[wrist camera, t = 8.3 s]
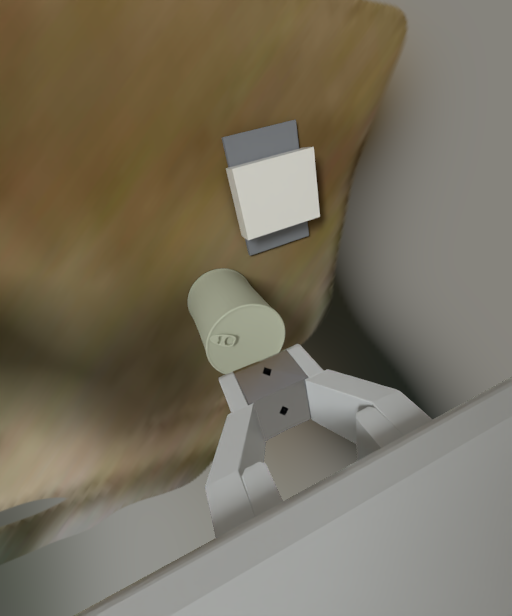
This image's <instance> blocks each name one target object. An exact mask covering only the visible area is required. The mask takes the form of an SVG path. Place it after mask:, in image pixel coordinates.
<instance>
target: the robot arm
mask: <svg viewBox="0 0 512 616" xmlns="http://www.w3.org/2000/svg"><path fill="white" fill-rule="evenodd" d="M218 378H219V382H220V385H221V387H222V390H223V393H224V395H225V398H226V400H227V403H228V406H229V408H230V411H231V413H230V414H228V415H227V418H226V421H225V424H224V428H223V431H222V434H221V437H220V440H219V444H218V447H217V450H216V453H215V456H214V460H213V463H212V466H211V469H210V472H209V476H208V479H207V482H206V485H205V490H206V494H207V499H208V504H209V509H210V513H211V518H212V523H213V527H214V532H215V536H216V538H215V539H214V540H212V541H210V542H208V543H206V544H204V545H203V546H201V547H199V548H197V549H195V550H194V551H192V552H190V553H188V554H186V555H184V556H182V557H180V558H179V559H177V560H175V561H173V562H171V563H170V564H168V565H166V566H164V567H162V568H160V569H159V570H157V571H155V572H153V573H151V574H150V575H147V576H146V577H144V578H142V579H140V580H138V581H137V582H135V583H133V584H131V585H129V586H127V587H126V588H124V589H122V590H120V591H119V592H116V593H115V594H113V595H111V596H109V597H107V598H105V599H103V600H102V601H100V602H98V603H96V604H94V605H92V606H91V607H89V608H87V609H85V610H83V611H82V612H80V613H78V614H76V615H74V616H512V377H510V378H508V379H507V380H505V381H503V382H501V383H499V384H497V385H496V386H494V387H492V388H490V389H488V390H487V391H485V392H483V393H481V394H479V395H477V396H475V397H474V398H472V399H470V400H468V401H466V402H464V403H463V404H461V405H459V406H457V407H455V408H453V409H452V410H450V411H448V412H446V413H444V414H442V415H441V416H439V417H437V418H435V419H433V420H432V419H431V418H430V417H429V416H428V415H427V414H425V413H424V412H423V411H422V410H421V409H420V408H418V407H417V406H416V405H415V404H414V403H413V402H412V401H410V400H409V399H408V398H407V397H406V396H405V395H404V394H402V393H401V392H400V391H399V390H396V389H393V388H389V387H386V386H383V385H379V384H376V383H373V382H369V381H366V380H362V379H359V378H356V377H352V376H349V375H346V374H342V373H339V372H336V371H332V370H329V369H327V370H325V371H324V370H323V369H322V368H321V367H320V366H319V365H318V364H317V363H316V362H315V361H314V359H313V358H312V357H311V356H310V355H309V354H308V353H307V352H306V351H305V350H304V349H303V348H302V346H301V345H299V344H296V345H294V346H292V347H289V348H287V349H285V350H283V351H281V352H278V353H276V354H274V355H272V356H269V357H267V358H265V359H262V360H260V361H258V362H255V363H253V364H250V365H248V366H245V367H243V368H240V369H238V370H235V371H233V372H231V373H228V374H226V375H223V376H221V377H218ZM309 419H312V420H313V421H315V422H317V423H319V424H320V425H322V426H324V427H326V428H328V429H330V430H331V431H333V432H335V433H337V434H339V435H341V436H343V437H344V438H346V439H348V440H350V441H352V442H354V443H355V444H357V461H356V462H355V463H353V464H351V465H349V466H347V467H345V468H344V469H342V470H340V471H338V472H336V473H334V474H333V475H331V476H329V477H327V478H326V479H324V480H322V481H320V482H318V483H316V484H314V485H312V486H311V487H309V488H307V489H305V490H303V491H301V492H300V493H298V494H296V495H294V496H292V497H290V498H289V499H287V500H285V501H283V500H282V498H281V496H280V494H279V491H278V489H277V487H276V485H275V483H274V480H273V478H272V476H271V474H270V471H269V469H268V467H267V465H266V463H264V454H265V445H266V442H265V441H266V440H268V439H270V438H272V437H274V436H276V435H278V434H280V433H281V432H284V431H285V430H287V429H289V428H292V427H294V426H296V425H298V424H301V423H303V422H305V421H307V420H309Z"/></svg>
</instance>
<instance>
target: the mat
mask: <svg viewBox="0 0 512 616" xmlns="http://www.w3.org/2000/svg"><path fill="white" fill-rule="evenodd" d="M222 141H223V146H224V150H225V154H226V159H227V163H228V167H233V166H236V165H240V164H244V163H247V162H251V161H255V160H259V159H262V158H266V157H270V156H273V155H277V154H281V153H285V152H288V151H292V150H296V149H299V144H298V135H297V126H296V120H292V121H288V122H284V123H280V124H276V125H272V126H268V127H263V128H259V129H255V130H251V131H247V132H243V133H239V134H235V135H231V136H227V137H223V138H222ZM306 236H309V231H308V222H307V221H306V222H303V223H299V224H296V225H293V226H290V227H287V228H284V229H281V230H278V231H275V232H272V233H269V234H266V235H263V236H260V237H257V238H254V239H251V240H247V239H246V238H245V240H246V244H247V249H248V253H249V255H250V256H251V255H254V254H257V253H260V252H263V251H265V250H268V249H271V248H274V247H277V246H280V245H283V244H286V243H289V242H292V241H295V240H298V239H300V238H303V237H306Z"/></svg>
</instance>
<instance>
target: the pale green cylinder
mask: <svg viewBox="0 0 512 616" xmlns="http://www.w3.org/2000/svg"><path fill="white" fill-rule="evenodd" d="M188 309H189V312H190V314H191V316H192V318H193V319H194V321H195V324H196V326H197V329H198V331H199V334H200V337H201V339H202V342H203V345H204V348H205V350H206V355H207V358H208V360H209V362H210V364H211V365H212V366H213V367H214V368H215V369H216V370H217V371H219V372H221V373H223V374H225V375H226V374H228V373H231V372H233V371H235V370H238V369H240V368H243V367H245V366H248V365H250V364H253V363H255V362H258V361H260V360H262V359H265V358H267V357H269V356H272V355H274V354H276V353H278V352H280V350H281V348H282V346H283V343H284V339H285V326H284V322H283V320H282V318H281V316H280V315H279V314H278V313H277V312H276V311H275V310H274V309H272V308H271V307H270V306H269V305H268V303H267V302H266V301H265V300H264V299H263V298H262V297H261V296H260V295H259V294H258V293H257V292H256V291H255V290H254V289H253V288H252V287H251V286H250V284H249V283H248V281H247V280H246V278H245V277H244V276H243V275H241V274H240V273H238V272H236V271H234V270H231V269H215V270H212V271H209V272H207V273H205V274H203V275H202V276H201V277H199V278H198V279H197V280H196V281H195V283H194V284H193V285H192V287H191V289H190V292H189V295H188Z"/></svg>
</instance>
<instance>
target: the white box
mask: <svg viewBox="0 0 512 616" xmlns="http://www.w3.org/2000/svg"><path fill="white" fill-rule="evenodd" d="M226 172H227V176H228V180H229V184H230V188H231V193H232V197H233V201H234V205H235V209H236V214H237V218H238V222H239V226H240V230H241V235H242V236H243V237H244V238H246V239H247V240H251V239H254V238H257V237H260V236H263V235H266V234H269V233H272V232H275V231H278V230H281V229H284V228H287V227H290V226H293V225H296V224H299V223H303V222H306V221H309V220H312V219H315V218H318V217H320V211H319V200H318V189H317V178H316V167H315V156H314V147H304V148H299V149H296V150H292V151H288V152H285V153H281V154H277V155H273V156H270V157H266V158H262V159H259V160H255V161H251V162H247V163H244V164H240V165H236V166H233V167H229V168H226Z"/></svg>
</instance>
